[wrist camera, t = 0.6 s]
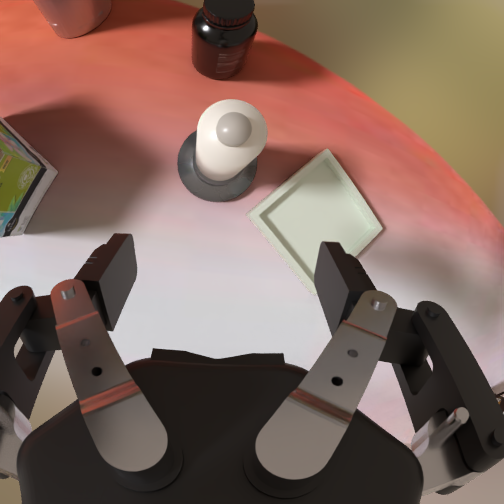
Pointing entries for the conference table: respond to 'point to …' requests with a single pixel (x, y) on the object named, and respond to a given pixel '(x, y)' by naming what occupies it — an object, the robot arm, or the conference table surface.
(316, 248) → the tray
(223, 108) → the white knobbed cylinder
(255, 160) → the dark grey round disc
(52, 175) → the tea box
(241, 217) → the conference table surface
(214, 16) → the supplement bottle
